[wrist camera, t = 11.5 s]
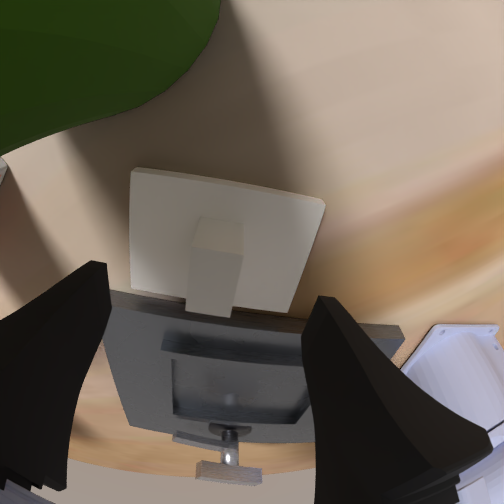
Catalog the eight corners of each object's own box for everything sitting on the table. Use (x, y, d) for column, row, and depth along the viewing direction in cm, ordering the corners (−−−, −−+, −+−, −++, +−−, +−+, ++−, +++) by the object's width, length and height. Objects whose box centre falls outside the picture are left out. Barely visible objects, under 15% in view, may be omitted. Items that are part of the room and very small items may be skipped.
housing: (398, 325, 17) (409, 348, 15) (314, 432, 25) (317, 448, 23) (102, 288, 14) (89, 312, 13) (132, 415, 22) (128, 432, 21)
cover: (319, 195, 13) (343, 232, 10) (284, 298, 16) (293, 349, 13) (140, 163, 12) (106, 192, 8) (137, 274, 15) (116, 321, 12)
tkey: (178, 417, 19) (172, 470, 15) (260, 435, 21) (262, 483, 17) (174, 423, 20) (168, 473, 16) (252, 440, 21) (254, 486, 17)
